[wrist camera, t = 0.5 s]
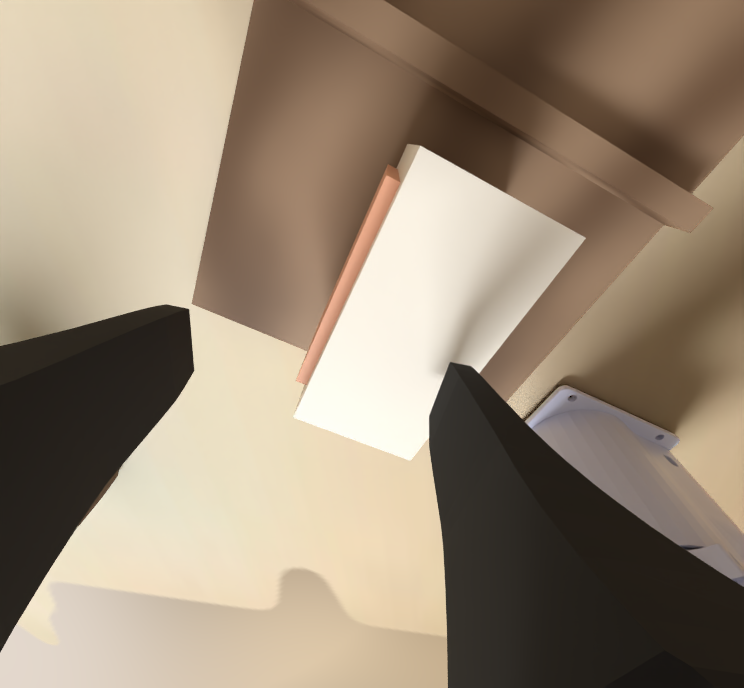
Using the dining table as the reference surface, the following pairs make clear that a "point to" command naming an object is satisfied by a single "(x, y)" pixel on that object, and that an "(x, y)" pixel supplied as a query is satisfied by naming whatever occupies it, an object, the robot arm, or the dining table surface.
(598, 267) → the shelf board
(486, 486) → the robot arm
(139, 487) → the dining table surface
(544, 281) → the label carton
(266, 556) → the dining table surface
